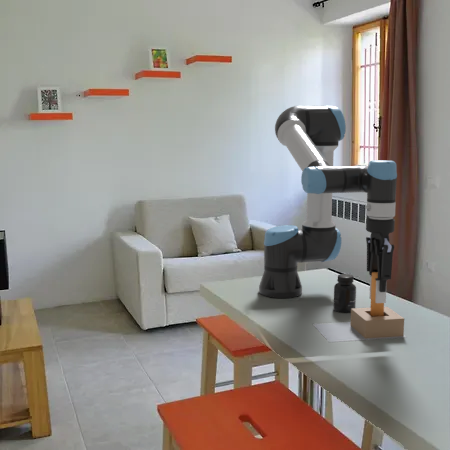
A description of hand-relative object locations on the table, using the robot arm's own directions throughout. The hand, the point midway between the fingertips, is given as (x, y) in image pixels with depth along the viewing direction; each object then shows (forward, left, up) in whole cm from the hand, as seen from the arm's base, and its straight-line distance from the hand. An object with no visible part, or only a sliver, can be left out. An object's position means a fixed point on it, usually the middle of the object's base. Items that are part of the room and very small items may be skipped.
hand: (377, 300), depth 165 cm
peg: (0, 0, -4) cm, 4 cm away
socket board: (-1, -5, -10) cm, 11 cm away
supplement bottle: (-20, -2, -10) cm, 23 cm away
